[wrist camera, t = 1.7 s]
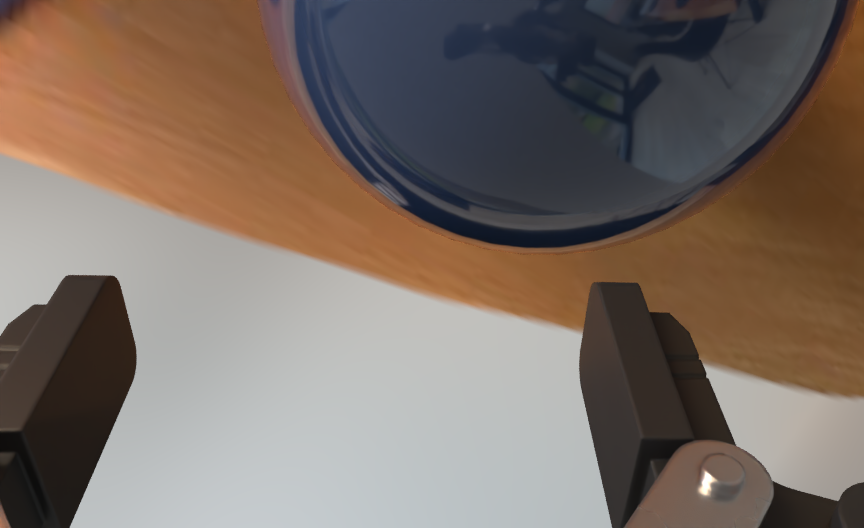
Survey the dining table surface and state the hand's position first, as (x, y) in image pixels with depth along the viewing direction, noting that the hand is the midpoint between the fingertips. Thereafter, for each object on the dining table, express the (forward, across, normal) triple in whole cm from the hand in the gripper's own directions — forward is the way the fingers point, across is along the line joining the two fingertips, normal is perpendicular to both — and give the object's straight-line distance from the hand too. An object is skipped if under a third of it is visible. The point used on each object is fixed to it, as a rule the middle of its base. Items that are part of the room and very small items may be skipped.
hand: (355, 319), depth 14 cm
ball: (+25, -6, +1) cm, 25 cm away
